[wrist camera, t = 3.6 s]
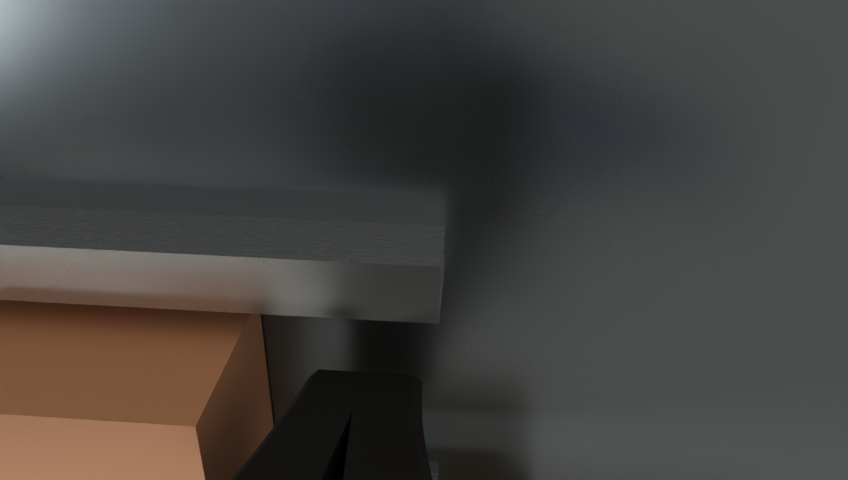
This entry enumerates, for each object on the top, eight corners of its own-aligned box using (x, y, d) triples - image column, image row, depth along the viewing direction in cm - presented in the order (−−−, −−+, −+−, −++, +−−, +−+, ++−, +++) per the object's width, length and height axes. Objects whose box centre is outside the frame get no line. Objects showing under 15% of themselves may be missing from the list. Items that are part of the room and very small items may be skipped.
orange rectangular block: (8, 417, 12) (-102, 553, 10) (-38, 280, 10) (-178, 402, 8) (275, 434, 11) (223, 579, 9) (258, 296, 10) (196, 426, 8)
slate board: (-211, 640, 18) (-324, 773, 15) (-768, -204, 9) (-1215, -211, 7) (758, 723, 16) (806, 883, 14) (1129, -181, 8) (1416, -180, 5)
